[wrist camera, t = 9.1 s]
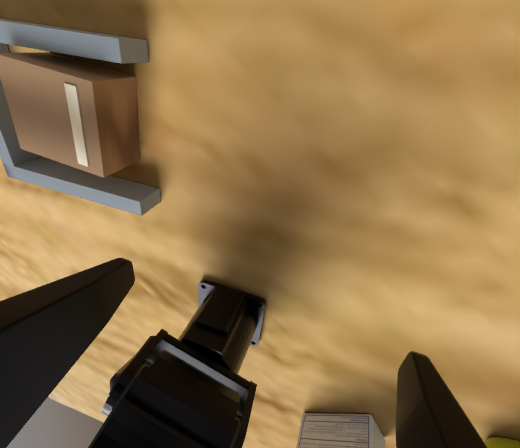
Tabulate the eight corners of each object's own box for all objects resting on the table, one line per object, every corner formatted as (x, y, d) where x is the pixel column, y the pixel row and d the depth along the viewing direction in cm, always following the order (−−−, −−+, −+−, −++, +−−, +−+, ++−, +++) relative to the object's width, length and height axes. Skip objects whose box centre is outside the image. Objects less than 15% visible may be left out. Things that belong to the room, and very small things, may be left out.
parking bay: (160, 201, 24) (141, 215, 22) (35, 167, 27) (8, 176, 25) (147, 40, 18) (118, 38, 16) (-15, 15, 20) (-57, 12, 18)
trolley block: (141, 159, 23) (102, 178, 19) (68, 135, 24) (19, 149, 20) (138, 76, 19) (90, 81, 16) (52, 52, 20) (-9, 52, 17)
